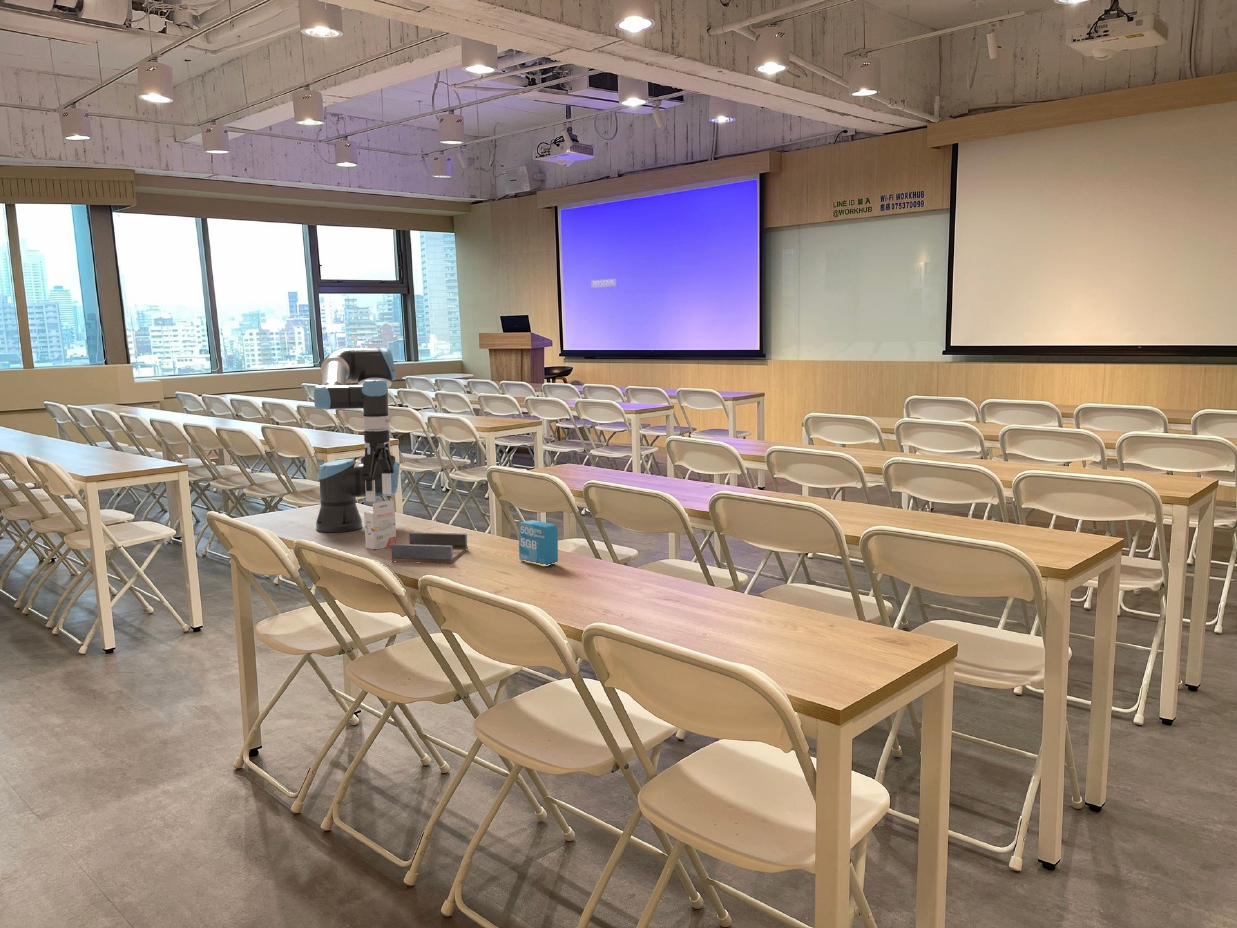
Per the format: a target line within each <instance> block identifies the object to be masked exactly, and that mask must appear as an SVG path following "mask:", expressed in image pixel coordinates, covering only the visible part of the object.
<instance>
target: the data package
mask: <svg viewBox="0 0 1237 928" xmlns="http://www.w3.org/2000/svg"><path fill="white" fill-rule="evenodd" d="M558 534H559V533H558V527H557V525H555V524H554V523H549V522H544V521H540V520H534V519H530V520H526V521H521V522H520V523H519V524H518V557H519V560H520V561H521V560H526V561H530V562H536V563H540V564H546V565H548V564H552V563H555V562H557V563H558V560H559V546H558V545H559V537H558Z"/></svg>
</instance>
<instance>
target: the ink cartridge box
mask: <svg viewBox="0 0 1237 928" xmlns="http://www.w3.org/2000/svg"><path fill="white" fill-rule="evenodd" d="M394 502H395V501H394V499H391V500H385V501H379V502H374V503H372V510H366V511H363V517H364V519H363V520H364V521H363V523H364V536H365V537H364V538H365V539H364V540H365V548H366V549H369V550H373V549H378V550H381V549H380V548H382V549H384V547H386V548H389V547H390V548H391V545H392V544H397V526H396V525H397V524H396V509H395V503H394ZM383 505H384V507H382V506H383Z"/></svg>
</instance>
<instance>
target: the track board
mask: <svg viewBox="0 0 1237 928" xmlns="http://www.w3.org/2000/svg"><path fill="white" fill-rule="evenodd" d="M408 536H409V537H408V538H409V539H408V541H409V543H402V544H401V543H396V544H392V545H391V546H390V548H391V549H390V550H391V558H390V561H396V562H395V563H406V562H420V563H419V564H440V565H441V564H443V565H446V564H447V565H451V564H452V563H453V562H455V561H456V560H457V559H458V558H459V557H461V555H463V554H464V553H465V552H467V550H468V549H469V546H468V534H467V533H456V532H455V533H451V532H423V531H422V532H421V531H420V532H418V531H417V532H416V531H411V532H409V533H408ZM466 549H467V550H466ZM464 551H465V552H464ZM462 553H463V554H462Z"/></svg>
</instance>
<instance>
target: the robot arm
mask: <svg viewBox="0 0 1237 928" xmlns="http://www.w3.org/2000/svg"><path fill="white" fill-rule="evenodd" d="M320 373H321V377H322V381H321V383H322V384H320V385H315V386H314V388H313V404H314V407H315V409H316V410H326V411H329V410H350V409H351V410H355V409H359V410H362V413H363V416H362V418H363V420H362V421H363V429H364V431H363V439H364V454H363V455H362V456H361V457H360V462H359V463H358V462H356V461H355V460H354V459H353V458H342V459H337V460H331V461H328V462H325V463H323V464H321V465H319V468H318V470H319V471H318V473H319V474H318V475H319V477H318V481H319V497H320V498H319V499H320V501H319V503H320V507H319V508H320V509H319V512H318V515H317V518H316V522H315V523H316V524H315V529H316V531H319V532H323V533H345V532H351V531H356V530H359V529H361V528H362V527H363V520H362V517H361V515H360V512H359V510H358V509H359V508H358V507H357V498H362V497H363V498H365V502H370V503H371V502H374V503H376V497H387V496H394V495H396V494H397V493H398V486H399V477H400V467H401V466H400V464H401V463H400V462H399V461H396V456H395V455H394V454H393V453H392V452H391V435H390V434H391V433H390V432H391V431H390V430H391V429H390V421H391V420H390V411H389V388H390V387H392V384H393V381H396V376H397V375H396V370H395V362H394V357H393V354H392V351H391V350H390V349H389V348H387V347H377V346H376V347H344V348H340V349H337V350H335V351H333V352H331V353H330V354H328V355H326V357H325V358H324V359H323V360H322V363H321V365H320ZM347 381H350V382H352V381H353V382H354V381H355V382H357V384H347Z"/></svg>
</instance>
